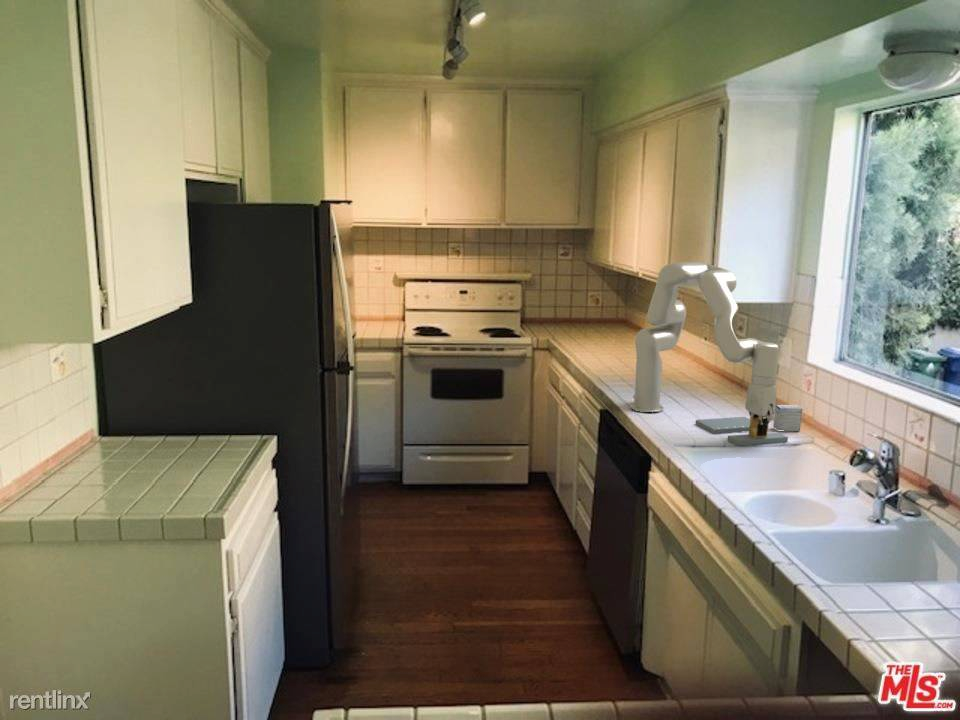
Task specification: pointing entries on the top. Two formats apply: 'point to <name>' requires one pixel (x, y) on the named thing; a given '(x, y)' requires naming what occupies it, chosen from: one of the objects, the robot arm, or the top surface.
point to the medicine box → (787, 417)
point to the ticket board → (725, 424)
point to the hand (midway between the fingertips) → (758, 433)
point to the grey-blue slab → (753, 437)
